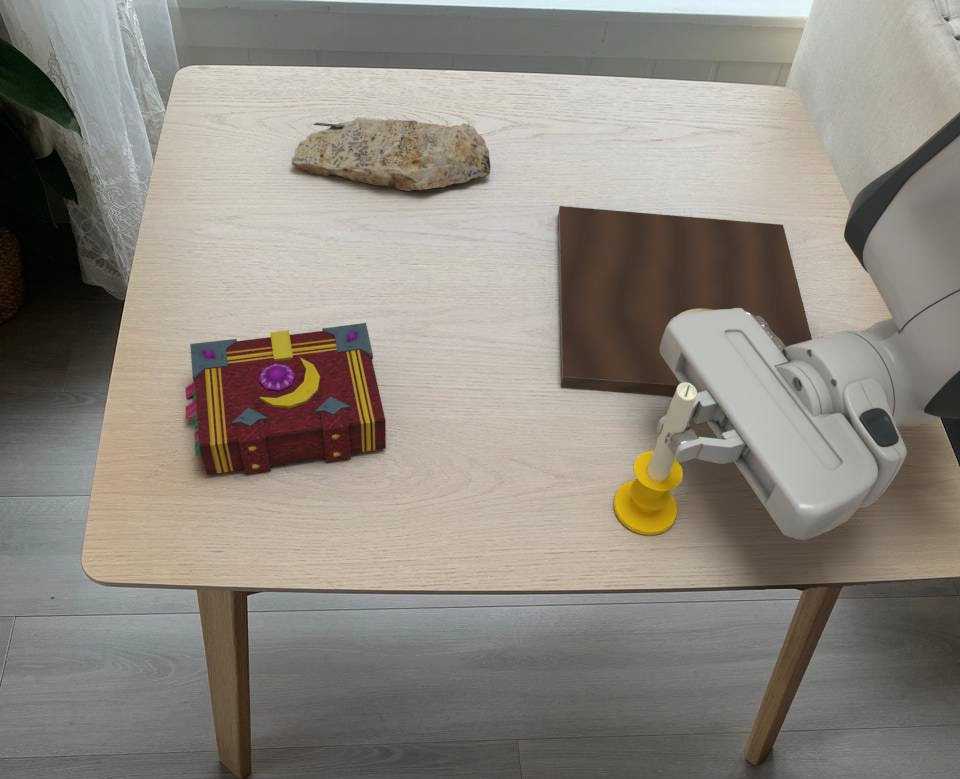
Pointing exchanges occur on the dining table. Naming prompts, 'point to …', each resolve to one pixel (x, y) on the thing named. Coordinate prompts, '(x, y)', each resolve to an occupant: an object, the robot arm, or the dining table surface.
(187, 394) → the decorative book
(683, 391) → the candle
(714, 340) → the robot arm
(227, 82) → the dining table surface
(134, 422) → the dining table surface
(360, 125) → the stone
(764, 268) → the board
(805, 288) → the dining table surface
